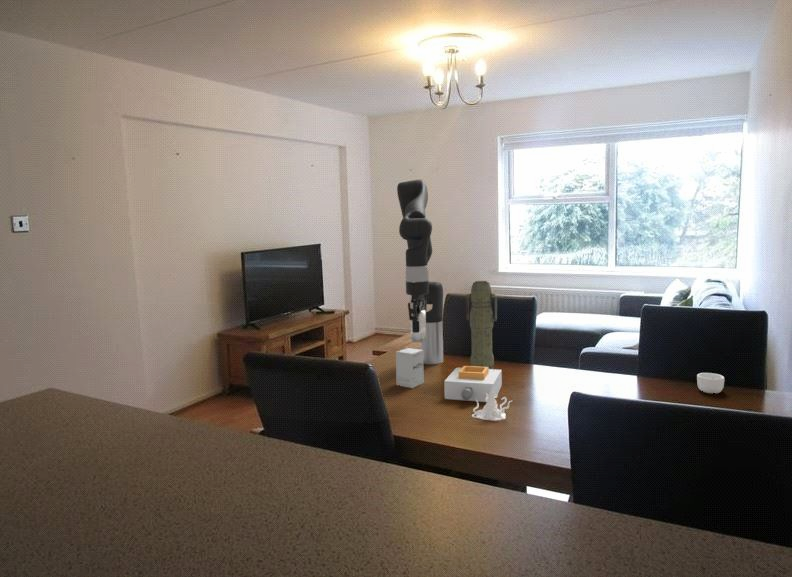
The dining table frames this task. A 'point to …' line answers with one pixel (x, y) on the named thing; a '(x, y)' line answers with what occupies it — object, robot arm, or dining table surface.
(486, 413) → the tentacle sculpture
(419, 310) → the robot arm
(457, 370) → the white square box
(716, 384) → the teacup
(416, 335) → the shiny metal cylinder
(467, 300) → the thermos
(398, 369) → the supplement box
